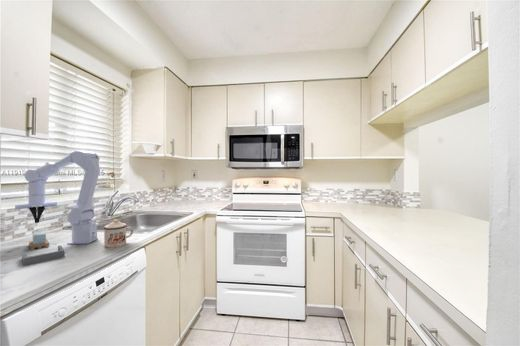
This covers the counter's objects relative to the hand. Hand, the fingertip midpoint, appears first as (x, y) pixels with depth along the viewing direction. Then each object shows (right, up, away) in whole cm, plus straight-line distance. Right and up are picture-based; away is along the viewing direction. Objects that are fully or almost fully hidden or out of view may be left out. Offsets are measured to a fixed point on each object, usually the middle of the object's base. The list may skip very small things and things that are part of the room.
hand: (37, 222), depth 111 cm
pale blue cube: (+8, -8, -7) cm, 13 cm away
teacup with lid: (+42, -10, -3) cm, 43 cm away
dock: (+22, -10, -20) cm, 31 cm away
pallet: (+7, -10, -7) cm, 14 cm away
